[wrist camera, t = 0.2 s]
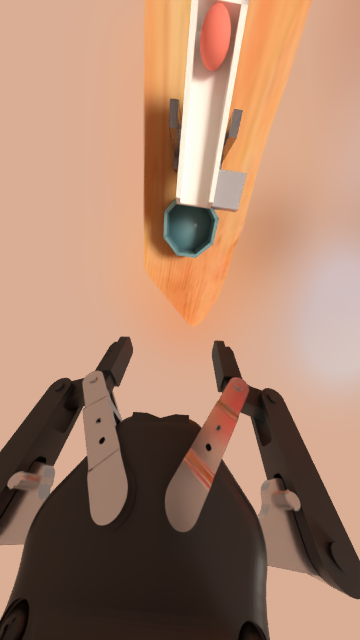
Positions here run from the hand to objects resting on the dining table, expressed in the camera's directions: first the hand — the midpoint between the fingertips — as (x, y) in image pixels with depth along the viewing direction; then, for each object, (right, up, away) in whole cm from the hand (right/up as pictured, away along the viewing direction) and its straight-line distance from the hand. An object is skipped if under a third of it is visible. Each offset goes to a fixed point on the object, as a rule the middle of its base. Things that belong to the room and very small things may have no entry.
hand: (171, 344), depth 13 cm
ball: (+4, +31, +1) cm, 31 cm away
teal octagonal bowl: (+3, +23, +18) cm, 30 cm away
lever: (+6, +28, +8) cm, 30 cm away
